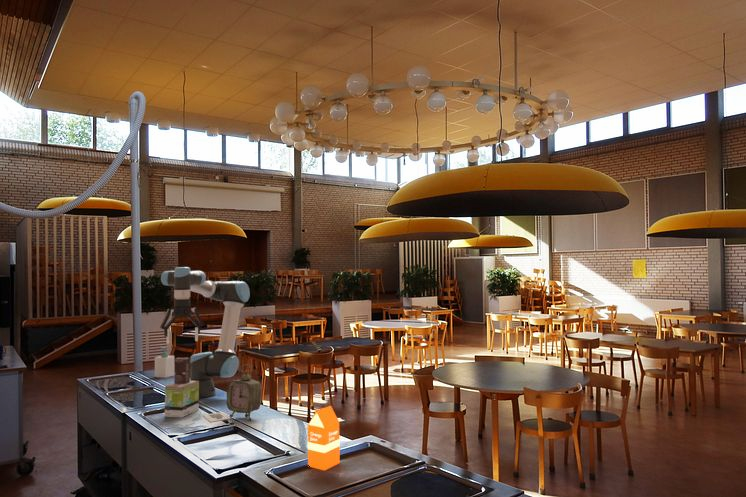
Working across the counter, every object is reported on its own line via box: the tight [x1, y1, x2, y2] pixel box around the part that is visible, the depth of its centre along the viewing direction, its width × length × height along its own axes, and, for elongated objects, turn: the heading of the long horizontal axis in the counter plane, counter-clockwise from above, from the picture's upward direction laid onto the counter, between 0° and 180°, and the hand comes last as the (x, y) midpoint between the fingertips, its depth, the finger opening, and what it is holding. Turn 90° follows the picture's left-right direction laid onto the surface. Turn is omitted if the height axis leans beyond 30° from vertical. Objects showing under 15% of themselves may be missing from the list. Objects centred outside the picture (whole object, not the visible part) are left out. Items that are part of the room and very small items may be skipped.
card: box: [202, 411, 232, 423], centre depth 260 cm, size 10×13×1 cm
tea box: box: [164, 381, 200, 418], centre depth 268 cm, size 15×10×15 cm
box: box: [174, 356, 191, 384], centre depth 268 cm, size 6×4×12 cm
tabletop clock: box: [226, 363, 263, 422], centre depth 258 cm, size 14×9×25 cm, turn 64°
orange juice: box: [307, 405, 341, 471], centre depth 197 cm, size 8×9×20 cm
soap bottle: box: [154, 346, 175, 379], centre depth 359 cm, size 9×9×19 cm
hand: (182, 342), depth 269 cm, fingers open, 13 cm apart
